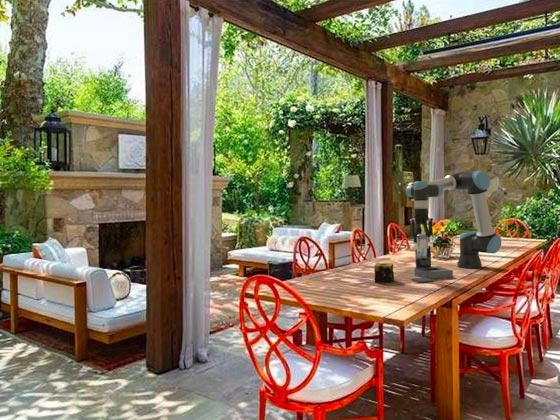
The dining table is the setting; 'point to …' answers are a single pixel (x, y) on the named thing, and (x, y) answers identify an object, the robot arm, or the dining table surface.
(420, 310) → the dining table surface
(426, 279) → the coaster
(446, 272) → the housing
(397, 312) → the dining table surface
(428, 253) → the canister
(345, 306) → the dining table surface
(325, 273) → the dining table surface
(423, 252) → the silver metal cylinder
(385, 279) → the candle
